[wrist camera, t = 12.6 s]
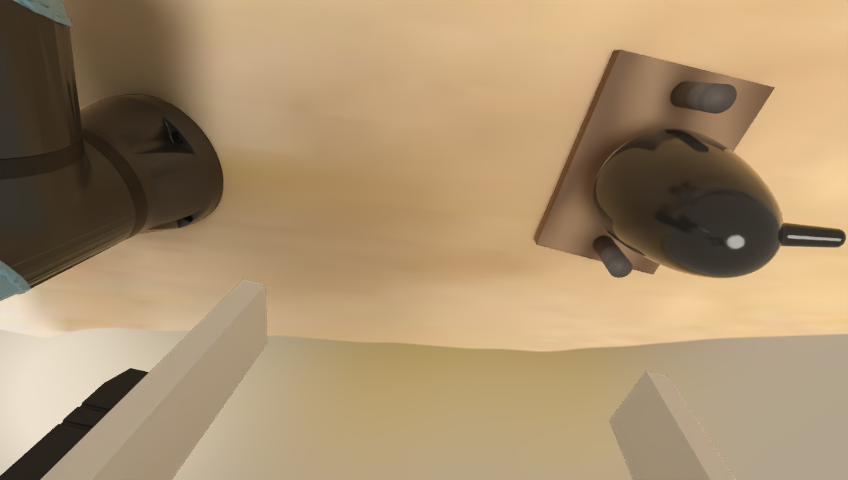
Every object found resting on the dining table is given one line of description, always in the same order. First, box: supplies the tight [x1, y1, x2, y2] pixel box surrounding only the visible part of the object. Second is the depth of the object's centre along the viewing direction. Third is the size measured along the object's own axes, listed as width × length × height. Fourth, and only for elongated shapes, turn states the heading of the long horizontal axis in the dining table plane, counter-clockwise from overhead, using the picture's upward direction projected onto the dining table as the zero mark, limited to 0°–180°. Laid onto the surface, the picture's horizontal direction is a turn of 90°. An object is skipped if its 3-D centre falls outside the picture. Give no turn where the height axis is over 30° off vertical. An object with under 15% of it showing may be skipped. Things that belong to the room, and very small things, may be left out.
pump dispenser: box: [593, 128, 846, 278], centre depth 26 cm, size 10×10×15 cm
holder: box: [534, 50, 774, 278], centre depth 31 cm, size 13×19×6 cm
